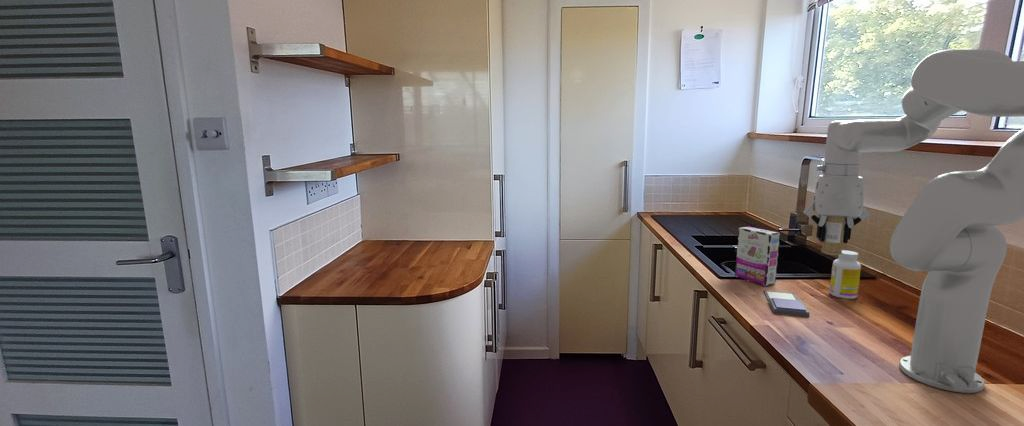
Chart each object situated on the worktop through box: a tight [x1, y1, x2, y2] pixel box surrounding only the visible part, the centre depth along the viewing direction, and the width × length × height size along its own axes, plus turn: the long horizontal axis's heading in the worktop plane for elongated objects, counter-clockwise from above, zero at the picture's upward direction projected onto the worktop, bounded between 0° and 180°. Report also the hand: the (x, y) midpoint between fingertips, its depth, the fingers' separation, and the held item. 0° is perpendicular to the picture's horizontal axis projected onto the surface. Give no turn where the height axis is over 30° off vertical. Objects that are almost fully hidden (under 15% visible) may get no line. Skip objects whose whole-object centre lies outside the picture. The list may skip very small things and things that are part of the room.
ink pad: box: [768, 298, 811, 318], centre depth 128 cm, size 8×8×2 cm
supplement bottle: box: [829, 249, 862, 300], centre depth 137 cm, size 7×7×13 cm
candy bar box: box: [734, 225, 781, 287], centre depth 150 cm, size 11×5×16 cm, turn 27°
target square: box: [763, 289, 799, 302], centre depth 137 cm, size 8×8×1 cm
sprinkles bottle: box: [820, 216, 845, 256], centre depth 123 cm, size 5×5×14 cm
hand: (832, 240), depth 123 cm, fingers closed on sprinkles bottle, 4 cm apart
